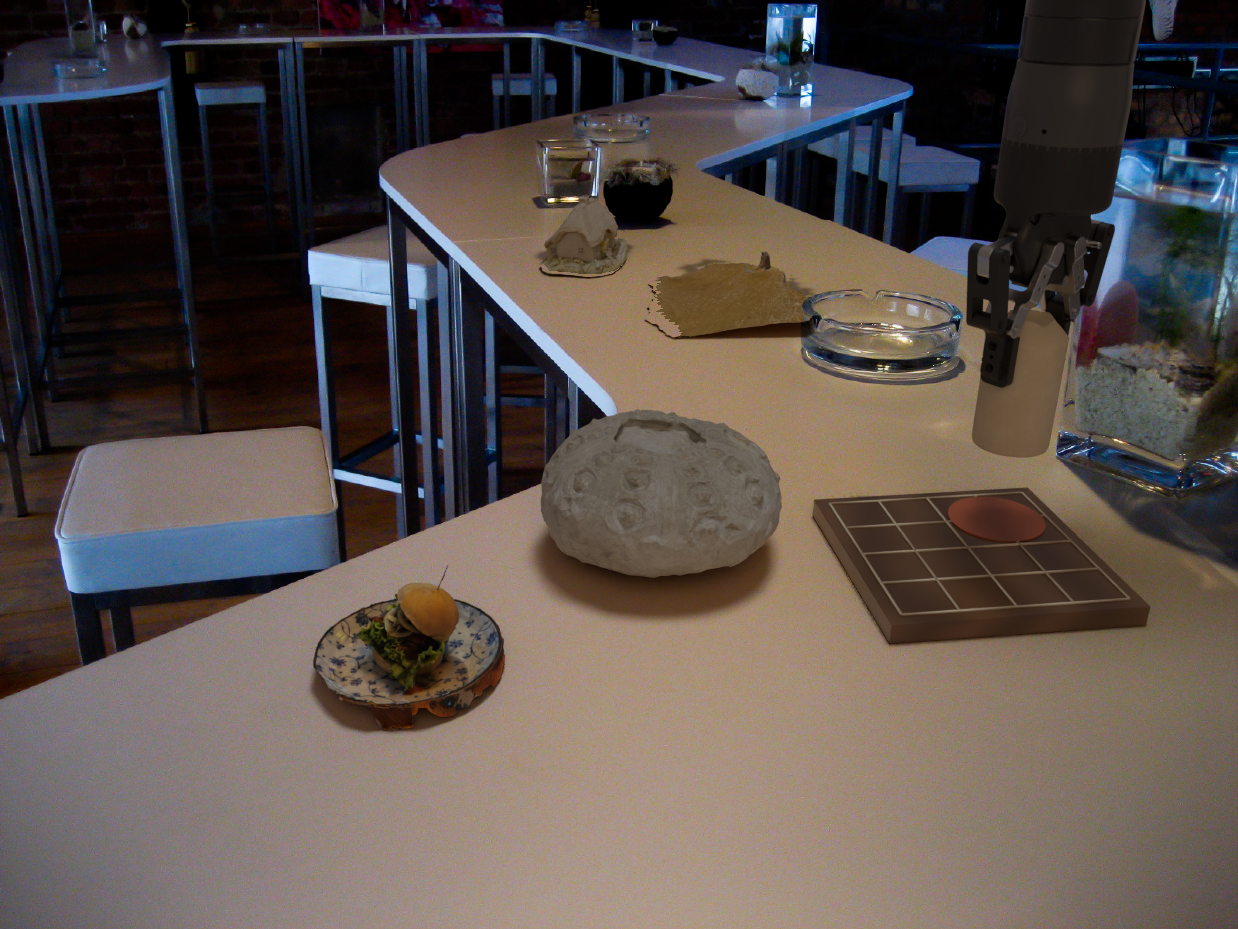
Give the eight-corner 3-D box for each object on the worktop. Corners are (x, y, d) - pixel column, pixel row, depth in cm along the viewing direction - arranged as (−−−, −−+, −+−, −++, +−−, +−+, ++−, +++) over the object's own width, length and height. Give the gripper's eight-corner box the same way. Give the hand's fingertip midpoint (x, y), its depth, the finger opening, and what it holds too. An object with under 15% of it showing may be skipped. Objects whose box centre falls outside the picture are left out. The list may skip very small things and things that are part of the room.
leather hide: (676, 274, 156) (673, 241, 153) (859, 282, 144) (859, 246, 142) (586, 358, 134) (581, 321, 131) (794, 375, 122) (791, 334, 120)
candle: (1021, 465, 77) (1045, 331, 73) (956, 441, 81) (974, 312, 77) (1063, 445, 81) (1088, 315, 76) (998, 422, 84) (1018, 298, 80)
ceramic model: (600, 282, 148) (600, 209, 144) (528, 273, 152) (525, 201, 148) (639, 258, 160) (640, 189, 156) (571, 250, 164) (570, 183, 160)
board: (1024, 503, 89) (1028, 485, 89) (1146, 625, 73) (1151, 605, 73) (812, 515, 87) (813, 497, 87) (889, 644, 71) (892, 623, 71)
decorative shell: (705, 480, 93) (709, 370, 89) (826, 579, 79) (838, 453, 74) (509, 523, 86) (503, 406, 82) (601, 640, 72) (600, 505, 67)
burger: (365, 607, 75) (354, 512, 72) (528, 628, 73) (524, 530, 70) (279, 715, 65) (262, 609, 61) (467, 743, 62) (459, 634, 59)
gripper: (1049, 152, 65) (1006, 414, 72) (1174, 130, 73) (1124, 368, 80) (946, 136, 70) (915, 381, 77) (1073, 117, 78) (1034, 341, 85)
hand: (1021, 373), depth 79 cm, fingers closed on candle, 5 cm apart
